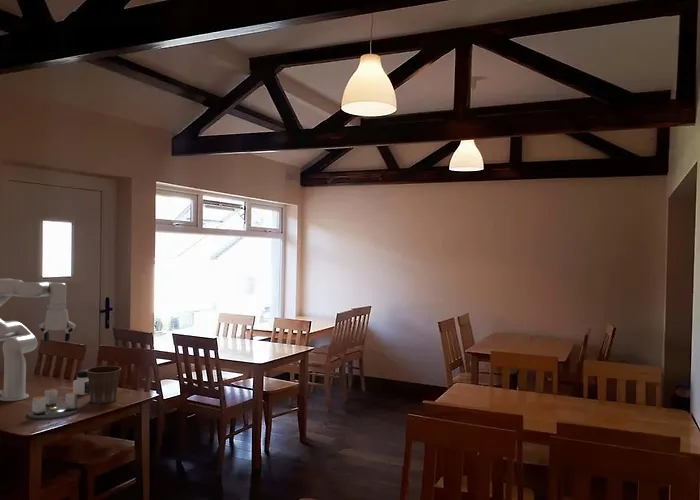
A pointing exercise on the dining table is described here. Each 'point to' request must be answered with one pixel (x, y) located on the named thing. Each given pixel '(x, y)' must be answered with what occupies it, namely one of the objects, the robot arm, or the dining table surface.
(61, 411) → the grey round tray
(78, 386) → the medicine bottle
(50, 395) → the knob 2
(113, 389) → the plant pot
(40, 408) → the knob
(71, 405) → the white short cylinder
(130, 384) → the dining table surface
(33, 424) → the dining table surface
